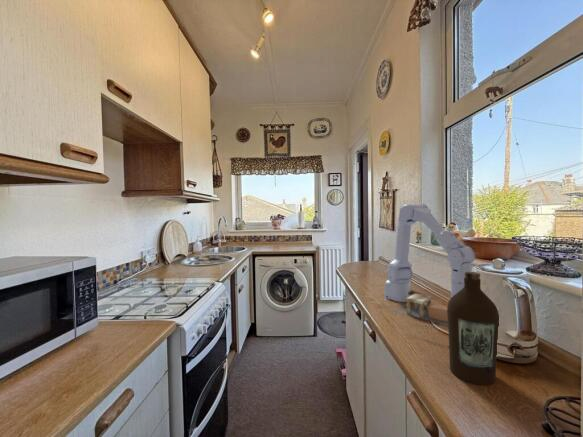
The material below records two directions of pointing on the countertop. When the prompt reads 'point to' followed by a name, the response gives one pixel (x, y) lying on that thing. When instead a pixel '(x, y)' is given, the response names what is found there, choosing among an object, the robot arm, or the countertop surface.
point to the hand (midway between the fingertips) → (460, 321)
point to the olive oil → (473, 333)
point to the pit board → (417, 314)
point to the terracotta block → (438, 312)
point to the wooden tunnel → (417, 299)
